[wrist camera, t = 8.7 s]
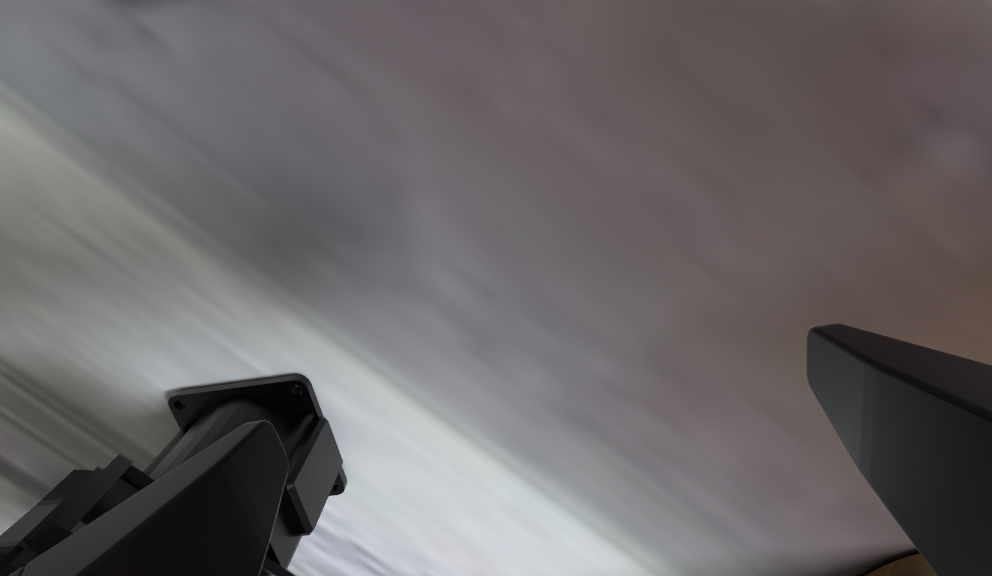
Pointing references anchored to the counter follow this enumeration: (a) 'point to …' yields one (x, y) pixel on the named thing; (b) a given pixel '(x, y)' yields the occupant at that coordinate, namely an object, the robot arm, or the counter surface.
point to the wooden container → (905, 567)
